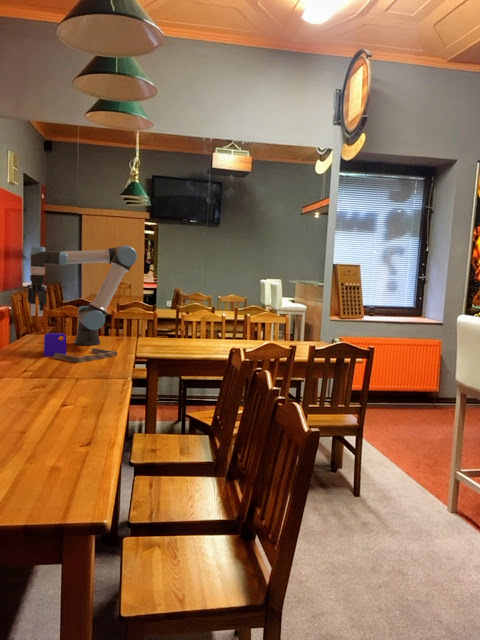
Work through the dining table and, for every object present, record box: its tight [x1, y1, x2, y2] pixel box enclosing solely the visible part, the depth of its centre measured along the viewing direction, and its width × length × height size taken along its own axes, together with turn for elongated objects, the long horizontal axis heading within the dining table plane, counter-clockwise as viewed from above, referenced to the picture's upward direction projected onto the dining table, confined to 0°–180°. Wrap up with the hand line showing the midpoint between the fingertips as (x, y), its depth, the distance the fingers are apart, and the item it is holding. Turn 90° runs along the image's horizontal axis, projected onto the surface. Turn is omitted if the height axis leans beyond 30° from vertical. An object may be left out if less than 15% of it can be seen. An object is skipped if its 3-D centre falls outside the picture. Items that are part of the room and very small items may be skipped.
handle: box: [53, 347, 118, 364], centre depth 273 cm, size 28×17×2 cm, turn 151°
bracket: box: [43, 332, 67, 357], centre depth 279 cm, size 18×11×12 cm, turn 22°
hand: (36, 315), depth 288 cm, fingers open, 5 cm apart
